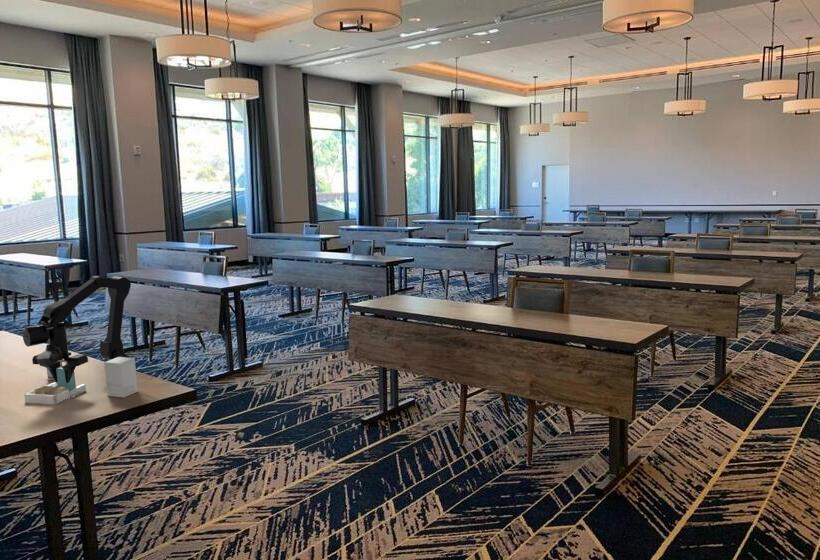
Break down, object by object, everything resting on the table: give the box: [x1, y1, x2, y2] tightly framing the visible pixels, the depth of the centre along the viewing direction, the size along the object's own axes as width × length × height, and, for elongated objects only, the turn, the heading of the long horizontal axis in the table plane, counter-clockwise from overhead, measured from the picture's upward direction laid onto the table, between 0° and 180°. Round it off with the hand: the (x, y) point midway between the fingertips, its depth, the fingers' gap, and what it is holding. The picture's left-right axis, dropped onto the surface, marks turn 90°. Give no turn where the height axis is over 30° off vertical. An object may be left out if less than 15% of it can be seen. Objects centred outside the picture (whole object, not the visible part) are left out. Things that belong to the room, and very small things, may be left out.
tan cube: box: [33, 385, 53, 395], centre depth 223 cm, size 4×4×4 cm
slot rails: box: [46, 382, 87, 398], centre depth 229 cm, size 13×8×2 cm, turn 78°
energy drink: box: [44, 348, 63, 381], centre depth 246 cm, size 5×5×12 cm
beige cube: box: [47, 386, 65, 395], centre depth 222 cm, size 4×4×4 cm
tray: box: [23, 389, 71, 405], centre depth 222 cm, size 12×7×3 cm, turn 78°
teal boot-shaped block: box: [48, 364, 77, 391], centre depth 228 cm, size 8×9×9 cm
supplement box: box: [103, 357, 139, 398], centre depth 226 cm, size 7×7×13 cm
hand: (62, 382), depth 229 cm, fingers closed on teal boot-shaped block, 4 cm apart
